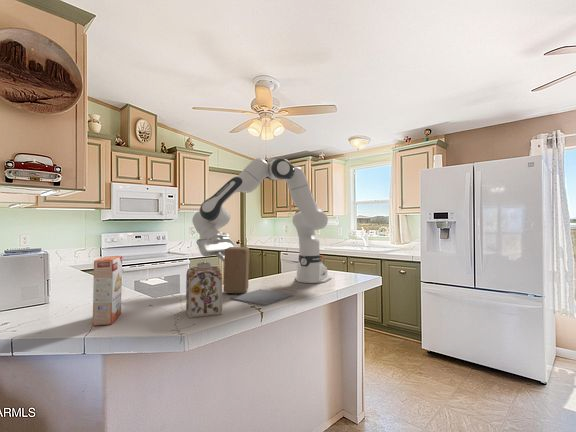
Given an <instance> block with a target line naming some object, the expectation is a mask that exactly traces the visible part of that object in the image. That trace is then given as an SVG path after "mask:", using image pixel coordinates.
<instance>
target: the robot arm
mask: <svg viewBox="0 0 576 432" xmlns="http://www.w3.org/2000/svg"><path fill="white" fill-rule="evenodd" d="M265 179H268V180H271V181H282V180H284V181H285V183H286V185H287V187H288V190H289V194H290V197H291V200H292V203H293V204H294V206H296V207H297V209H298V210H299V211H297V212H296V213H295V214H293V216H292V225H293V226H294V228H295V229H296V233H297V237H298V242H299V244H298V246H299V254H298V264H297V265H296V276H295V277H294V280H296V281H297V282H299V283H305V284H306V283H307V284H316V283H323V284H324V283H326V282H327V281H330V280H331V279H333V278H332V276H330V275H328V267H327V266H326V265H324V263H323V262H322V260H323V259H324V255H322V254H320V240H319V239H318V237H317V235H316V232H315V231H319V230H322V229H325V228H326V226H327V225H328V222H329V220H328V216H327V214H326V213H325V212H324V211H323V210H322V209H321V207H319V205H318V203H317V202H316V200H315V198H314V196H313V194H312V190H311V188H310V184H309V182H308V179H307V176H306V173H305V172H304V171H303V168H302V167H300V166H294V165H293V164H292V163H291V162H290V161H289V160H288V159H286V158H284V157H278V158H275V159H273V160H271V161H269V162H267V161H266V160H264V159H263V158H260V157H257V158H255V159H253V160H252V161H250V162H249V163H248V164H247V165H246V166H245V167H244V169H243V170H242V171H241V172H240V173H239V174H238V175H236V176H234V177H232V178H231V179H230V180H228V181H227V182H226V183H225V184H224V185H223V186H221V188H219V189H218V190H217V191H216V192H215V193H214V194H213V195H212V196H210V197H209V198H207V199H205V200H203V202H202V203H201V204H200V207H199V211H196V212H195V213H194V214H193V216H192V224H193V227H194V229H195V231H196V232H197V233H198V234H199V237H200V238H199V239H197V240H196V245H197V246H198V250H199V252H200V254H201V255H202V257H210V256H216V257H217V258H218V259H220V260H221V261H222V262H224V252H225V249H227V248H229V247H237V245H236V244H235V242H234V240H232V238H230V235H229V234H228V233H227V232H223V231H220V229H221V228H223V227H225V226H226V225H227V224H228V223H229V222H230V220H231V215H230V213H229V211H228V210H227V209H226V208H225V207H224V204H225V202H227V200H229V199H230V198H231V197H232V196H233V195H234V194H236V193H245V194H249V193H252V192H253V191H255V190H256V189H257V188H258V187H259V185H261V183H262V181H264V180H265Z"/></svg>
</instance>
